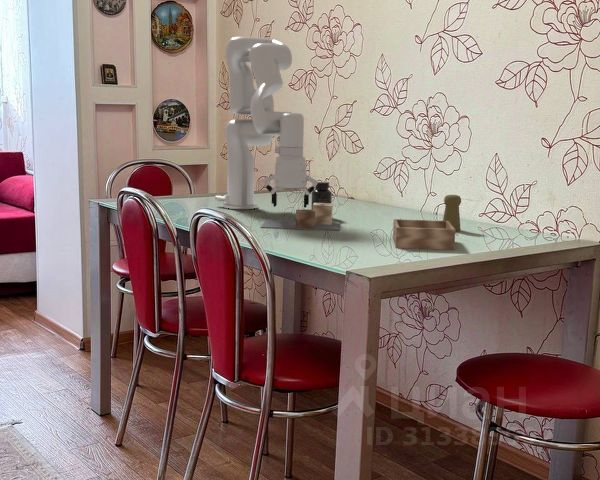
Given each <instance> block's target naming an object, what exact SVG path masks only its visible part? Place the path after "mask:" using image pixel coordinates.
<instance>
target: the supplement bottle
mask: <svg viewBox="0 0 600 480" xmlns="http://www.w3.org/2000/svg"><path fill="white" fill-rule="evenodd" d="M329 188H330V181H329V182H327V181H318V183H317V185H316V187H315V189H314V190H313V191H312V192H311V195H310V196H311V198H310V199H311V201H310V202H311V203H310V204H311V205H310V208H311V209H310V210H313V204H314V203H333V192H332V191H331V190H330V189H329Z"/></svg>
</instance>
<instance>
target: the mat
mask: <svg viewBox="0 0 600 480" xmlns="http://www.w3.org/2000/svg"><path fill="white" fill-rule="evenodd" d="M340 226H341V221H333V220H332V224H331V225H321V224H315V228H298V227H297V226H296V219H275V218H274V219H272V218H270V219H269V218H267V219H265V220H264V222H263V223H262V224H261V226H260V227H259V228H260V229H284V230H309V231H310V230H312V231H314V230H315V231H316V230H317V231H340V228H341V227H340Z"/></svg>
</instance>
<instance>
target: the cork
mask: <svg viewBox="0 0 600 480" xmlns="http://www.w3.org/2000/svg"><path fill="white" fill-rule="evenodd" d="M443 203H444V204H445V206H444V212H443V217H442V221H449V222H450V224H451V225H452V226H453V227H454V228H455V233H456V232H461V230H462V229H461V219H460V218H461V217H460V216H461V215H460V205H461V203H462V198H461V196H460V195H458V194H447V195H445V196H444V199H443Z"/></svg>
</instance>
